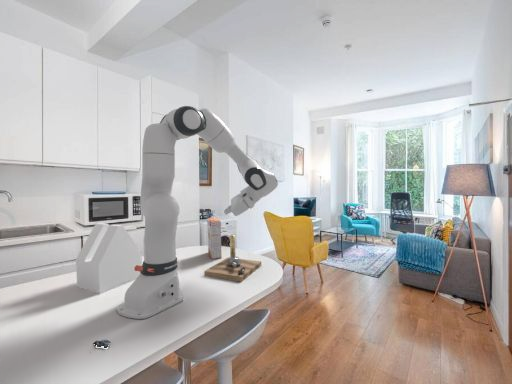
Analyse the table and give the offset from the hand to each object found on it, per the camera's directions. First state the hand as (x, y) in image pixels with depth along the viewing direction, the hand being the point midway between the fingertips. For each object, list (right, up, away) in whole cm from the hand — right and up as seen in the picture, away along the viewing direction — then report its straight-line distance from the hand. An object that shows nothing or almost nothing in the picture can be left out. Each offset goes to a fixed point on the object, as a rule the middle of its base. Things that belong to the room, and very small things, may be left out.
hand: (224, 212), depth 126 cm
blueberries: (-26, -31, -58) cm, 71 cm away
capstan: (+4, -25, 0) cm, 25 cm away
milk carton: (-47, -29, -15) cm, 57 cm away
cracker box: (-9, -26, +22) cm, 35 cm away
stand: (+5, -27, -3) cm, 28 cm away
